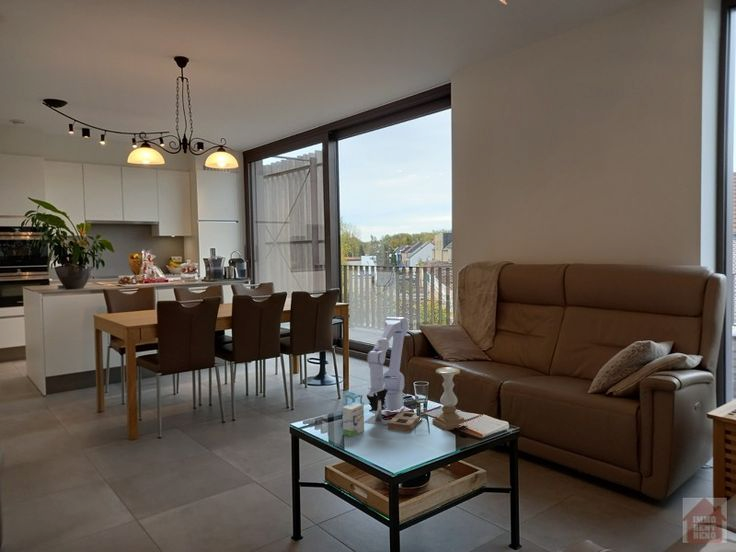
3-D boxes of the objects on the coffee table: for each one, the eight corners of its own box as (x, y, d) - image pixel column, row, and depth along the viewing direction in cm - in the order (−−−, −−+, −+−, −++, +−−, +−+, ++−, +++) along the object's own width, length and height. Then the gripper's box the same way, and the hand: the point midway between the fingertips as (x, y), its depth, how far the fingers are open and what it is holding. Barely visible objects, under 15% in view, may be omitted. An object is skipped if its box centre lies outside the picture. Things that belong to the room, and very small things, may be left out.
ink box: (355, 428, 227) (354, 401, 227) (365, 431, 224) (363, 403, 223) (342, 435, 221) (341, 407, 220) (352, 437, 217) (351, 409, 217)
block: (400, 417, 239) (400, 411, 239) (422, 419, 235) (421, 413, 235) (387, 429, 225) (387, 422, 225) (409, 432, 221) (409, 425, 220)
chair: (366, 417, 241) (365, 391, 240) (353, 422, 235) (352, 395, 235) (355, 414, 247) (354, 388, 246) (341, 418, 241) (340, 392, 240)
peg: (376, 418, 238) (375, 399, 238) (382, 419, 237) (382, 399, 236) (374, 420, 235) (373, 401, 235) (380, 421, 234) (379, 401, 234)
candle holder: (431, 423, 231) (430, 368, 229) (453, 418, 235) (451, 365, 234) (445, 430, 221) (444, 374, 219) (467, 426, 225) (466, 370, 224)
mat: (372, 416, 243) (372, 415, 243) (393, 418, 239) (393, 417, 239) (363, 423, 234) (363, 422, 234) (384, 425, 230) (384, 425, 230)
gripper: (375, 373, 243) (376, 402, 244) (361, 381, 230) (362, 411, 231) (389, 374, 240) (390, 403, 241) (376, 382, 227) (377, 413, 228)
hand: (377, 407), depth 236 cm, fingers open, 7 cm apart
